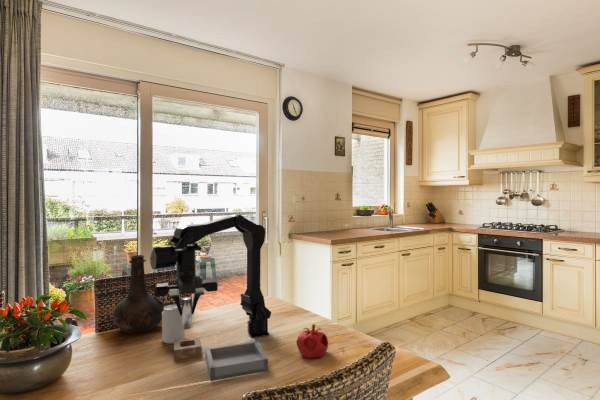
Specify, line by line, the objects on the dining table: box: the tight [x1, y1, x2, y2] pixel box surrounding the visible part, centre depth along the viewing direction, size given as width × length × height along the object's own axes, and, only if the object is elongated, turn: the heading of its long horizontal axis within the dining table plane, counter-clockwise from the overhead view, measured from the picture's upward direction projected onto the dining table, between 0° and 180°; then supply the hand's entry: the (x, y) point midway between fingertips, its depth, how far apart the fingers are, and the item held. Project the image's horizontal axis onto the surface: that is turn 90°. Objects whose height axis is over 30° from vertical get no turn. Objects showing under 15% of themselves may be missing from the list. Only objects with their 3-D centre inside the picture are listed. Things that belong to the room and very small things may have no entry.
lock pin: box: [180, 297, 193, 330], centre depth 116 cm, size 3×3×9 cm
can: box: [161, 304, 186, 345], centre depth 128 cm, size 8×8×12 cm
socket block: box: [173, 336, 203, 361], centre depth 117 cm, size 8×8×4 cm
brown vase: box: [112, 254, 165, 334], centre depth 139 cm, size 18×18×28 cm
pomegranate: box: [295, 323, 329, 359], centre depth 116 cm, size 10×10×9 cm
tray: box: [205, 340, 269, 382], centre depth 109 cm, size 16×14×4 cm
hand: (186, 314), depth 117 cm, fingers closed on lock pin, 3 cm apart
